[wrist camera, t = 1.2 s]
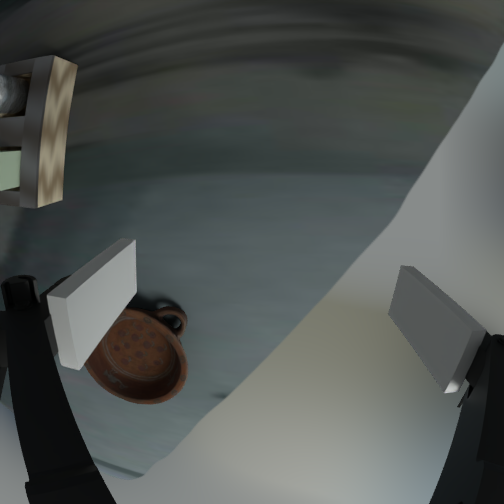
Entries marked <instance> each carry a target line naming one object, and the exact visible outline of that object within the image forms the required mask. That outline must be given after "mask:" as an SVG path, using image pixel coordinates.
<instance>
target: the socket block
mask: <svg viewBox="0 0 504 504" xmlns="http://www.w3.org/2000/svg"><path fill="white" fill-rule="evenodd" d="M77 67H78V65H76V64H74V63H71V62H69V61H66V60H64V59H62V58H59V57H57V56H54V55H49V56H43V57H37V58H32V59H27V60H22V61H17V62H13V63H8V64H4V65H0V74H3V75H8V76H12V77H17V78H22V79H25V80H26V81H27V82H28V84H29V93H28V99H27V103H26V105H25V106H24V108H23V109H22V110H21V111H20V112H18V113H16V114H6V113H0V151H21V166H20V186H19V187H15V188H10V189H6V190H2V191H0V204H1V205H9V206H18V207H27V208H38V207H41V206H44V205H47V204H50V203H54V202H57V201H60V200H62V193H63V172H64V158H65V147H66V137H67V128H68V120H69V113H70V106H71V100H72V94H73V88H74V82H75V77H76V72H77Z"/></svg>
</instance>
